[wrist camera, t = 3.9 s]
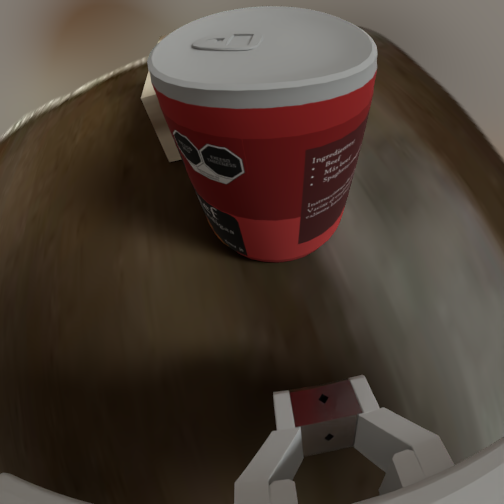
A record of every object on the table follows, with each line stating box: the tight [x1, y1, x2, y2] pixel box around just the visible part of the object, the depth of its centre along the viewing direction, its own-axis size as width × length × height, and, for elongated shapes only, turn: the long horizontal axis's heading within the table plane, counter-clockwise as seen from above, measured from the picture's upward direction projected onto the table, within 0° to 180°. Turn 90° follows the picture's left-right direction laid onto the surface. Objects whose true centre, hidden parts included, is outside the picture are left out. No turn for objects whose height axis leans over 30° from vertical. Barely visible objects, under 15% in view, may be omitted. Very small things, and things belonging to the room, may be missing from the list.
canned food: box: [147, 6, 377, 262], centre depth 13 cm, size 8×8×11 cm
